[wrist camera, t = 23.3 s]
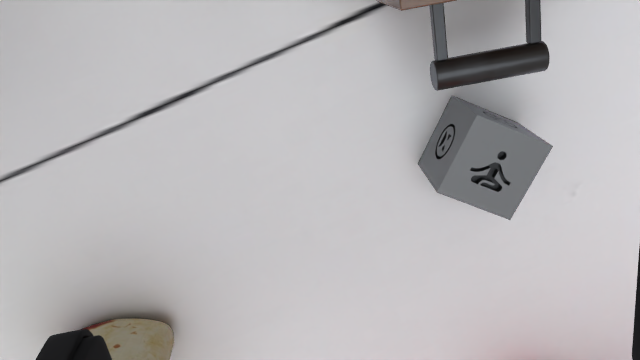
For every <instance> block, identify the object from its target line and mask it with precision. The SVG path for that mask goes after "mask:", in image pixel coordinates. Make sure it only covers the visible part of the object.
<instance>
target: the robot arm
mask: <svg viewBox="0 0 640 360" xmlns="http://www.w3.org/2000/svg"><path fill="white" fill-rule="evenodd" d="M632 359H633V360H640V248H639V262H638V276H637V290H636V304H635V319H634V333H633V347H632ZM36 360H112V358H111V355H110V353H109V350H108V348H107V345H106V342H105V340H104V338H103V337H102V336H100V335H97V336H93V334H92V333H91V331H90V330H88V329H82V330H77V331H71V332H66V333H61V334H56V335H52V336H50V337H49V338H48V339H47V341H46V343H45V344H44V346H43V348H42V349H41V351H40V353H39V355H38V356H37V358H36Z"/></svg>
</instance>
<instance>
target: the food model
mask: <svg viewBox="0 0 640 360" xmlns="http://www.w3.org/2000/svg"><path fill="white" fill-rule="evenodd" d="M83 329H88V330H90V331H91V333H92V334H93V336H97V335H100V336H102V337H103V338H104V340H105V342H106V345H107V348H108V350H109V353H110V355H111V358H112V360H170V356H171V352H172V348H173V344H174V336H173V331H172V330H171V328H170V326H169V325H167V324H165V323H164V322H160V321H155V320H149V319H133V318H128V319H113V320H109V321H105V322H102V323H98V324H94V325H91V326H89V327H86V328H83ZM81 330H82V329H81Z"/></svg>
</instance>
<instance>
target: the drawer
mask: <svg viewBox="0 0 640 360" xmlns="http://www.w3.org/2000/svg"><path fill="white" fill-rule="evenodd" d="M377 1H378V2H380V3H383V4H386V5H388V6H391V7H394V8H396V9H399V10H407V9H412V8H418V7H423V6H428V5H430V16H431V26H432V37H433V47H434V58H435V61H432V62H431V64H430V75H431V81H432V85H433V87H434V89H435V90H443V89H448V88H454V87H459V86H464V85H470V84H475V83H481V82H486V81H492V80H497V79H503V78H508V77H513V76H519V75H524V74H530V73H535V72H541V71H545V70H546V69H547V68H548V65H549V51H548V48H547V45H546V44H545V43H544V42H543V41H541V12H540V0H525V12H526V42H527V44H522V45H516V46H511V47H505V48H500V49H494V50H489V51H484V52H478V53H473V54H467V55H462V56H456V57H451V58H448V52H447V41H446V29H445V17H444V6H443V3H444V2H450V1H455V0H377Z"/></svg>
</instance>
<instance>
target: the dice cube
mask: <svg viewBox="0 0 640 360" xmlns="http://www.w3.org/2000/svg"><path fill="white" fill-rule="evenodd" d="M552 147H553V146H552V145H550V144H549V143H547V142H546V141H544V140H543V139H541V138H540V137H538V136H537V135H535V134H534V133H532V132H531V131H529V130H528V129H526V128H525V127H523V126H522V125H520V124H519V123H517V122H514V121H512V120H510V119H507V118H505V117H502V116H500V115H498V114H495V113H493V112H490V111H488V110H486V109H483V108H481V107H478V106H476V105H474V104H471V103H469V102H467V101H464V100H462V99H459V98H457V97H455V96H451V98H450V100H449V102H448V104H447V106H446V108H445V110H444V112H443V114H442V116H441V118H440V120H439V122H438V124H437V126H436V128H435V130H434V132H433V134H432V136H431V139H430V141H429V143H428V145H427V147H426V149H425V151H424V153H423V155H422V157H421V159H420V161H419V163H418V165H419V166H420V168H421V169H422V171H423V172H424V174H425V175H426V177H427V178H428V180H429V181H430V183H431V184H432V186H433V187H434V189H435V190H436V192H437V193H440V194H443V195H445V196H448V197H451V198H453V199H456V200H459V201H461V202H464V203H467V204H469V205H472V206H474V207H477V208H480V209H482V210H485V211H488V212H490V213H493V214H496V215H498V216H501V217H504V218H506V219H509V220H510V219H511V218H512V216H513V214H514V212H515V211H516V209H517V207H518V206H519V204H520V202H521V200H522V199H523V197H524V195H525V194H526V192H527V190H528V188H529V187H530V185H531V183H532V181H533V180H534V178H535V176H536V175H537V173H538V171H539V169H540V168H541V166H542V164H543V162H544V161H545V159H546V157H547V156H548V154H549V152H550V150H551V149H552Z"/></svg>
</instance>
